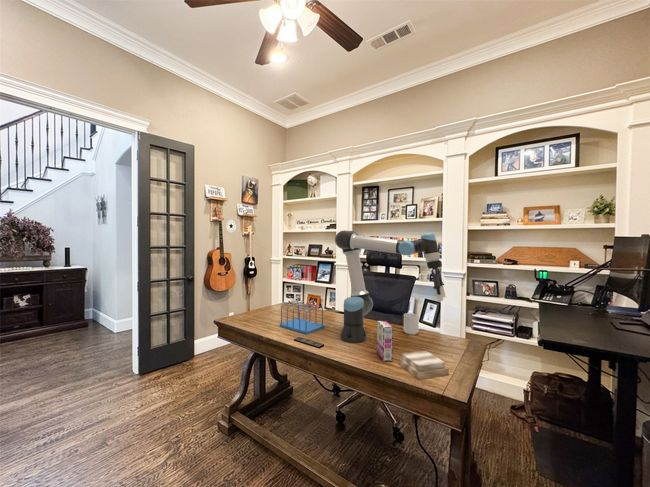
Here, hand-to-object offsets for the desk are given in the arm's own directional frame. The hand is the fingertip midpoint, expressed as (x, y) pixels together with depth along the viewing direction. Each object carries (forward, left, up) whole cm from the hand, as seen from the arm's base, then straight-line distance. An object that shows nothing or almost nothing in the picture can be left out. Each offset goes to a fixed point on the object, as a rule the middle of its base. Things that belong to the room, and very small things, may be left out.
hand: (442, 299), depth 149 cm
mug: (-24, -2, -26) cm, 36 cm away
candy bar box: (+4, -37, -26) cm, 45 cm away
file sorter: (-53, -67, -26) cm, 90 cm away
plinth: (+20, -27, -26) cm, 42 cm away
